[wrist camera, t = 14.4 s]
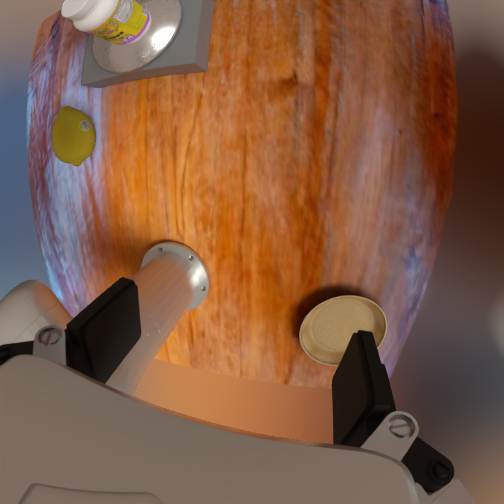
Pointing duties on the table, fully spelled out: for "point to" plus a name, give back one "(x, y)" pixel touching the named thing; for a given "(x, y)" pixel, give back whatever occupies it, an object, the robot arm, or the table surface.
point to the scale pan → (142, 39)
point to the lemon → (73, 136)
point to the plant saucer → (340, 327)
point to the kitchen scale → (173, 59)
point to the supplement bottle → (109, 19)
